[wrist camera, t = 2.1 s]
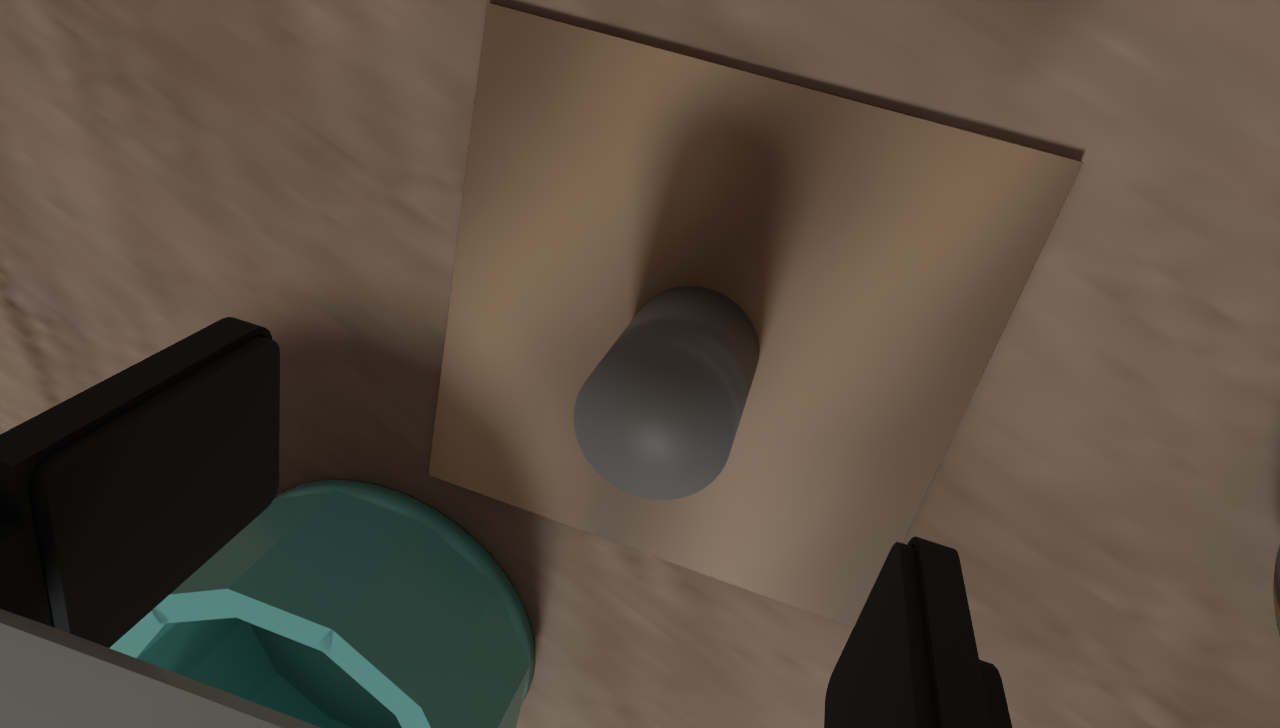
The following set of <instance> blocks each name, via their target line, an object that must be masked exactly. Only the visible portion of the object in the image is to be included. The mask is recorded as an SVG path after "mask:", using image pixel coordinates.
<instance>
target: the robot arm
mask: <svg viewBox="0 0 1280 728" xmlns="http://www.w3.org/2000/svg"><path fill="white" fill-rule="evenodd" d="M279 395H280V350H279V346H278V344H277V343H276V342H275V341H273V340H272V336H271V333H270V331H269V330H267V329H266V328H264V327H261V326H258V325H255V324H252V323H249V322H245V321H242V320H239V319H236V318H232V317H227V318H224V319H221V320H219V321H217V322H215V323H213V324H211V325H210V326H208V327H206V328H204V329H202V330H200V331H198V332H196V333H194V334H192V335H190V336H188V337H187V338H185V339H183V340H181V341H179V342H177V343H175V344H173V345H171V346H169V347H167V348H166V349H164V350H162V351H160V352H158V353H156V354H154V355H152V356H150V357H148V358H146V359H144V360H143V361H141V362H139V363H137V364H135V365H133V366H131V367H129V368H127V369H125V370H123V371H121V372H120V373H118V374H116V375H114V376H112V377H110V378H108V379H106V380H104V381H102V382H100V383H98V384H97V385H95V386H93V387H91V388H89V389H87V390H85V391H83V392H81V393H79V394H77V395H76V396H74V397H72V398H70V399H68V400H66V401H64V402H62V403H60V404H58V405H56V406H54V407H53V408H51V409H49V410H47V411H45V412H43V413H41V414H39V415H37V416H35V417H33V418H31V419H30V420H28V421H26V422H24V423H22V424H20V425H18V426H16V427H14V428H12V429H10V430H8V431H7V432H5V433H3V434H1V435H0V728H320V727H317V726H315V725H312V724H310V723H307V722H304V721H302V720H299V719H296V718H294V717H291V716H288V715H286V714H283V713H281V712H278V711H275V710H273V709H270V708H267V707H265V706H262V705H259V704H257V703H254V702H252V701H249V700H246V699H244V698H241V697H238V696H236V695H233V694H230V693H228V692H225V691H222V690H220V689H217V688H214V687H212V686H209V685H206V684H204V683H201V682H198V681H196V680H193V679H190V678H188V677H185V676H182V675H180V674H177V673H174V672H172V671H169V670H166V669H164V668H161V667H158V666H156V665H153V664H150V663H148V662H145V661H142V660H139V659H137V658H134V657H131V656H129V655H126V654H123V653H121V652H118V651H115V650H113V649H110V647H111V646H112V645H113V644H115V643H116V642H117V641H118V640H119V639H120V638H121V637H122V636H124V635H125V634H126V633H127V632H128V631H129V630H130V629H131V628H133V627H134V626H135V625H136V624H137V623H138V622H139V621H140V620H142V619H143V618H144V617H145V616H146V615H147V614H148V613H149V612H151V611H152V610H153V609H154V608H155V607H156V606H157V605H158V604H160V603H161V602H162V601H163V600H164V599H165V598H166V597H167V596H169V595H170V594H171V593H172V592H173V591H174V590H175V589H176V588H178V587H179V586H180V585H181V584H182V583H183V582H184V581H185V580H187V579H188V578H189V577H190V576H191V575H192V574H193V573H195V572H196V571H197V570H198V569H199V568H200V567H201V566H202V565H204V564H205V563H206V562H207V561H208V560H209V559H210V558H211V557H213V556H214V555H215V554H216V553H217V552H218V551H219V550H220V549H222V548H223V547H224V546H225V545H226V544H227V543H228V542H229V541H231V540H232V539H233V538H234V537H235V536H236V535H237V534H238V533H240V532H241V531H242V530H243V529H244V528H245V527H246V526H247V525H249V524H250V523H251V522H252V521H253V520H254V519H255V518H256V517H258V516H259V515H260V514H261V513H262V512H263V511H264V510H265V509H267V508H268V506H269V505H270V504H271V503H272V501H273V500H274V498H275V496H276V494H277V491H278V487H279ZM824 728H1012V724H1011V720H1010V715H1009V711H1008V706H1007V702H1006V697H1005V693H1004V688H1003V684H1002V680H1001V677H1000V674H999V671H998V669H997V668H996V667H995V666H994V665H993V664H990V663H988V662H985V661H982V660H979V657H978V652H977V647H976V642H975V637H974V632H973V626H972V621H971V616H970V611H969V606H968V601H967V596H966V590H965V585H964V580H963V575H962V570H961V565H960V560H959V555H958V552H957V551H956V550H955V549H953V548H950V547H946V546H943V545H940V544H937V543H934V542H931V541H928V540H925V539H921V538H918V537H913V538H912V539H911V540H910V541H909V542H908V544H907V545H906V544H903V543H899V542H896V543H895V544H894V545H893V546H892V548H891V550H890V552H889V554H888V556H887V558H886V560H885V562H884V564H883V567H882V569H881V571H880V573H879V575H878V577H877V579H876V581H875V584H874V586H873V588H872V590H871V592H870V594H869V596H868V598H867V601H866V603H865V605H864V607H863V609H862V611H861V613H860V615H859V618H858V620H857V622H856V624H855V626H854V628H853V630H852V632H851V635H850V637H849V639H848V641H847V643H846V645H845V647H844V649H843V651H842V654H841V656H840V658H839V660H838V662H837V664H836V666H835V668H834V671H833V673H832V675H831V678H830V681H829V684H828V688H827V692H826V699H825V722H824Z"/></svg>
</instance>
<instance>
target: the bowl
mask: <svg viewBox="0 0 1280 728" xmlns="http://www.w3.org/2000/svg"><path fill="white" fill-rule="evenodd" d="M110 649H113V650H115V651H118V652H121V653H123V654H126V655H129V656H131V657H134V658H137V659H139V660H142V661H145V662H148V663H150V664H153V665H156V666H158V667H161V668H164V669H166V670H169V671H172V672H174V673H177V674H180V675H182V676H185V677H188V678H190V679H193V680H196V681H198V682H201V683H204V684H206V685H209V686H212V687H214V688H217V689H220V690H222V691H225V692H228V693H230V694H233V695H236V696H238V697H241V698H244V699H246V700H249V701H252V702H254V703H257V704H259V705H262V706H265V707H267V708H270V709H273V710H275V711H278V712H281V713H283V714H286V715H288V716H291V717H294V718H296V719H299V720H302V721H304V722H307V723H310V724H312V725H315V726H317V727H320V728H516V725H517V721H518V716H519V712H520V707H521V705H522V703H523V701H524V699H525V697H526V695H527V693H528V690H529V687H530V684H531V681H532V678H533V672H534V664H535V653H534V641H533V636H532V630H531V626H530V623H529V620H528V617H527V614H526V611H525V608H524V606H523V604H522V602H521V600H520V598H519V596H518V594H517V592H516V590H515V588H514V587H513V585H512V584H511V582H510V581H509V579H508V577H507V576H506V574H505V573H504V571H503V570H502V569H501V568H500V566H499V565H498V564H497V563H496V561H495V560H494V559H493V558H492V556H491V555H490V554H489V553H488V552H487V551H486V550H485V549H484V548H483V547H482V546H481V545H480V544H479V543H478V542H477V541H476V540H475V539H474V538H473V537H472V536H470V535H469V534H468V533H467V532H466V531H464V530H463V529H462V528H461V527H460V526H458V525H457V524H456V523H455V522H453V521H452V520H450V519H449V518H447V517H446V516H444V515H443V514H441V513H440V512H438V511H437V510H435V509H433V508H431V507H430V506H428V505H426V504H424V503H422V502H420V501H419V500H417V499H414V498H412V497H410V496H407V495H405V494H403V493H400V492H398V491H395V490H392V489H389V488H385V487H382V486H379V485H375V484H370V483H365V482H359V481H353V480H335V479H334V480H321V481H313V482H309V483H305V484H301V485H297V486H295V487H293V488H290V489H288V490H285V491H283V492H282V493H280V494H279V495H277V496H275V498H274V500H273V501H272V503H271V504H270V505H269V506H268V508H267V509H265V510H264V511H263V512H262V513H261V514H260V515H259V516H258V517H256V518H255V519H254V520H253V521H252V522H251V523H250V524H249V525H247V526H246V527H245V528H244V529H243V530H242V531H241V532H240V533H238V534H237V535H236V536H235V537H234V538H233V539H232V540H231V541H229V542H228V543H227V544H226V545H225V546H224V547H223V548H222V549H220V550H219V551H218V552H217V553H216V554H215V555H214V556H213V557H211V558H210V559H209V560H208V561H207V562H206V563H205V564H204V565H202V566H201V567H200V568H199V569H198V570H197V571H196V572H195V573H193V574H192V575H191V576H190V577H189V578H188V579H187V580H185V581H184V582H183V583H182V584H181V585H180V586H179V587H178V588H176V589H175V590H174V591H173V592H172V593H171V594H170V595H169V596H167V597H166V598H165V599H164V600H163V601H162V602H161V603H160V604H158V605H157V606H156V607H155V608H154V609H153V610H152V611H151V612H149V613H148V614H147V615H146V616H145V617H144V618H143V619H142V620H140V621H139V622H138V623H137V624H136V625H135V626H134V627H133V628H131V629H130V630H129V631H128V632H127V633H126V634H125V635H124V636H122V637H121V638H120V639H119V640H118V641H117V642H116V643H115V644H113V645H112V646H111V647H110Z"/></svg>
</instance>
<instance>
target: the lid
mask: <svg viewBox="0 0 1280 728" xmlns="http://www.w3.org/2000/svg"><path fill="white" fill-rule="evenodd" d="M1082 165H1083V162H1082V161H1080V160H1076V159H1072V158H1068V157H1065V156H1061V155H1057V154H1053V153H1050V152H1046V151H1042V150H1038V149H1035V148H1031V147H1027V146H1024V145H1020V144H1016V143H1012V142H1009V141H1005V140H1001V139H997V138H994V137H990V136H986V135H982V134H979V133H975V132H971V131H968V130H964V129H960V128H956V127H953V126H949V125H945V124H941V123H938V122H934V121H930V120H927V119H923V118H919V117H915V116H912V115H908V114H904V113H900V112H897V111H893V110H889V109H885V108H882V107H878V106H874V105H871V104H867V103H863V102H859V101H856V100H852V99H848V98H844V97H841V96H837V95H833V94H830V93H826V92H822V91H818V90H815V89H811V88H807V87H803V86H800V85H796V84H792V83H788V82H785V81H781V80H777V79H774V78H770V77H766V76H762V75H759V74H755V73H751V72H747V71H744V70H740V69H736V68H732V67H729V66H725V65H721V64H718V63H714V62H710V61H706V60H703V59H699V58H695V57H691V56H688V55H684V54H680V53H677V52H673V51H669V50H665V49H662V48H658V47H654V46H650V45H647V44H643V43H639V42H635V41H632V40H628V39H624V38H621V37H617V36H613V35H609V34H606V33H602V32H598V31H594V30H591V29H587V28H583V27H580V26H576V25H572V24H568V23H565V22H561V21H557V20H553V19H550V18H546V17H542V16H538V15H535V14H531V13H527V12H524V11H520V10H516V9H512V8H509V7H505V6H501V5H497V4H494V3H487V9H486V17H485V25H484V33H483V41H482V49H481V57H480V65H479V73H478V81H477V89H476V96H475V104H474V112H473V120H472V128H471V136H470V144H469V152H468V160H467V168H466V176H465V184H464V192H463V200H462V208H461V216H460V224H459V232H458V240H457V248H456V256H455V264H454V272H453V280H452V288H451V296H450V304H449V312H448V320H447V328H446V336H445V344H444V352H443V360H442V368H441V376H440V384H439V392H438V400H437V408H436V416H435V424H434V432H433V440H432V448H431V456H430V464H429V472H428V475H429V476H432V477H435V478H437V479H440V480H443V481H446V482H449V483H451V484H454V485H457V486H460V487H463V488H465V489H468V490H471V491H474V492H476V493H479V494H482V495H485V496H488V497H490V498H493V499H496V500H499V501H502V502H504V503H507V504H510V505H513V506H515V507H518V508H521V509H524V510H527V511H529V512H532V513H535V514H538V515H541V516H543V517H546V518H549V519H552V520H554V521H557V522H560V523H563V524H566V525H568V526H571V527H574V528H577V529H579V530H582V531H585V532H588V533H591V534H593V535H596V536H599V537H602V538H605V539H607V540H610V541H613V542H616V543H618V544H621V545H624V546H627V547H630V548H632V549H635V550H638V551H641V552H644V553H646V554H649V555H652V556H655V557H657V558H660V559H663V560H666V561H669V562H671V563H674V564H677V565H680V566H683V567H685V568H688V569H691V570H694V571H696V572H699V573H702V574H705V575H708V576H710V577H713V578H716V579H719V580H722V581H724V582H727V583H730V584H733V585H735V586H738V587H741V588H744V589H747V590H749V591H752V592H755V593H758V594H760V595H763V596H766V597H769V598H772V599H774V600H777V601H780V602H783V603H786V604H788V605H791V606H794V607H797V608H799V609H802V610H805V611H808V612H811V613H813V614H816V615H819V616H822V617H825V618H827V619H830V620H833V621H836V622H838V623H841V624H844V625H847V626H850V627H852V628H854V626H855V624H856V622H857V620H858V618H859V615H860V613H861V611H862V609H863V607H864V605H865V603H866V601H867V598H868V596H869V594H870V592H871V590H872V588H873V586H874V584H875V581H876V579H877V577H878V575H879V573H880V571H881V569H882V567H883V564H884V562H885V560H886V558H887V556H888V554H889V552H890V550H891V548H892V546H893V545H894V544H895V543H896V542H899V543H903V540H904V538H905V536H906V534H907V532H908V530H909V528H910V526H911V524H912V522H913V519H914V517H915V515H916V513H917V511H918V509H919V507H920V505H921V503H922V501H923V498H924V496H925V494H926V492H927V490H928V488H929V486H930V484H931V482H932V480H933V477H934V475H935V473H936V471H937V469H938V467H939V465H940V463H941V461H942V459H943V456H944V454H945V452H946V450H947V448H948V446H949V444H950V442H951V440H952V438H953V436H954V433H955V431H956V429H957V427H958V425H959V423H960V421H961V419H962V417H963V415H964V412H965V410H966V408H967V406H968V404H969V402H970V400H971V398H972V396H973V394H974V391H975V389H976V387H977V385H978V383H979V381H980V379H981V377H982V375H983V373H984V370H985V368H986V366H987V364H988V362H989V360H990V358H991V356H992V354H993V352H994V349H995V347H996V345H997V343H998V341H999V339H1000V337H1001V335H1002V333H1003V331H1004V328H1005V326H1006V324H1007V322H1008V320H1009V318H1010V316H1011V314H1012V312H1013V310H1014V307H1015V305H1016V303H1017V301H1018V299H1019V297H1020V295H1021V293H1022V291H1023V289H1024V286H1025V284H1026V282H1027V280H1028V278H1029V276H1030V274H1031V272H1032V270H1033V268H1034V265H1035V263H1036V261H1037V259H1038V257H1039V255H1040V253H1041V251H1042V249H1043V247H1044V244H1045V242H1046V240H1047V238H1048V236H1049V234H1050V232H1051V230H1052V228H1053V226H1054V223H1055V221H1056V219H1057V217H1058V215H1059V213H1060V211H1061V209H1062V207H1063V205H1064V202H1065V200H1066V198H1067V196H1068V194H1069V192H1070V190H1071V188H1072V186H1073V184H1074V181H1075V179H1076V177H1077V175H1078V173H1079V171H1080V169H1081V167H1082Z"/></svg>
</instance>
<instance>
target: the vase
mask: <svg viewBox="0 0 1280 728" xmlns="http://www.w3.org/2000/svg"><path fill="white" fill-rule="evenodd" d="M1273 593H1274V605H1275V614H1276V621H1277V627H1278V630H1279V634H1280V546H1279V549H1278V553H1277V558H1276V563H1275V573H1274V585H1273Z"/></svg>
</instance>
